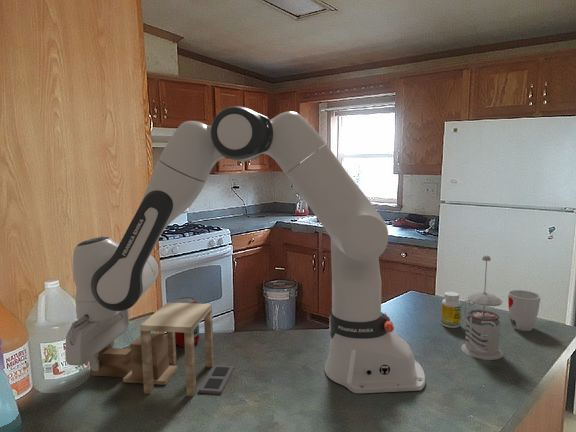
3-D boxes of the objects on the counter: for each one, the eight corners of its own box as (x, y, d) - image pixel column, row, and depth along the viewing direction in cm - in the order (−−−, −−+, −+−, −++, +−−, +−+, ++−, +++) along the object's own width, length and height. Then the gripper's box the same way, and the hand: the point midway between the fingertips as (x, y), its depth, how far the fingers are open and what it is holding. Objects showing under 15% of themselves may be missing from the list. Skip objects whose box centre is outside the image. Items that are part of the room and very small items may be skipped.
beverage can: (193, 349, 109) (191, 305, 108) (169, 347, 111) (167, 303, 109) (203, 338, 116) (201, 296, 114) (180, 336, 117) (179, 295, 115)
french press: (483, 363, 100) (489, 261, 97) (447, 344, 111) (451, 252, 107) (512, 355, 104) (518, 257, 101) (474, 337, 115) (478, 248, 111)
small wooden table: (213, 364, 101) (211, 304, 99) (193, 396, 87) (190, 327, 85) (170, 361, 102) (167, 302, 100) (144, 393, 89) (140, 325, 87)
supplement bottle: (445, 319, 127) (447, 289, 126) (463, 324, 123) (464, 293, 122) (437, 324, 124) (438, 293, 122) (455, 330, 120) (456, 297, 118)
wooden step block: (178, 369, 98) (176, 333, 97) (165, 384, 92) (163, 346, 90) (102, 364, 101) (100, 330, 100) (85, 379, 94) (82, 343, 93)
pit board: (234, 368, 99) (234, 365, 99) (221, 394, 88) (221, 390, 88) (214, 367, 99) (213, 364, 99) (198, 392, 89) (198, 389, 88)
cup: (508, 320, 127) (510, 288, 125) (539, 326, 122) (541, 293, 121) (504, 328, 120) (506, 295, 119) (536, 335, 115) (539, 300, 114)
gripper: (82, 326, 84) (87, 389, 86) (132, 294, 105) (135, 346, 106) (54, 325, 85) (59, 388, 87) (108, 293, 105) (112, 345, 107)
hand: (101, 364), depth 97 cm, fingers closed on wooden step block, 3 cm apart
